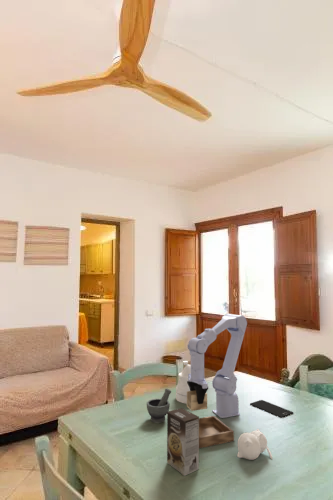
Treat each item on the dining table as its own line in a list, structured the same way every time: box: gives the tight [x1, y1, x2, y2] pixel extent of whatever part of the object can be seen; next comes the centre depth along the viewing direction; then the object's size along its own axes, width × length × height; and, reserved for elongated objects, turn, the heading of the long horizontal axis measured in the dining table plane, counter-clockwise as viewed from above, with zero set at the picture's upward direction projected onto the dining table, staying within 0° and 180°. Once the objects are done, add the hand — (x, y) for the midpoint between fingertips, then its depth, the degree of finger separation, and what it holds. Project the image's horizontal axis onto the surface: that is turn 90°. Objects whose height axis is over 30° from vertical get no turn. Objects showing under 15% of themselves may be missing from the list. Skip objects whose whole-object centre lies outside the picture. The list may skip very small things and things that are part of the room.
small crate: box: [186, 390, 208, 412], centre depth 134 cm, size 7×5×6 cm
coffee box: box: [166, 407, 200, 477], centre depth 104 cm, size 9×6×16 cm
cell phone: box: [249, 399, 294, 419], centre depth 149 cm, size 9×18×1 cm, turn 34°
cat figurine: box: [236, 428, 273, 461], centre depth 109 cm, size 9×11×12 cm
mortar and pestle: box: [146, 388, 172, 424], centre depth 138 cm, size 11×9×12 cm
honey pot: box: [175, 360, 191, 405], centre depth 162 cm, size 13×13×18 cm
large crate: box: [199, 415, 235, 449], centre depth 123 cm, size 15×15×4 cm
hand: (197, 401), depth 134 cm, fingers closed on small crate, 5 cm apart
